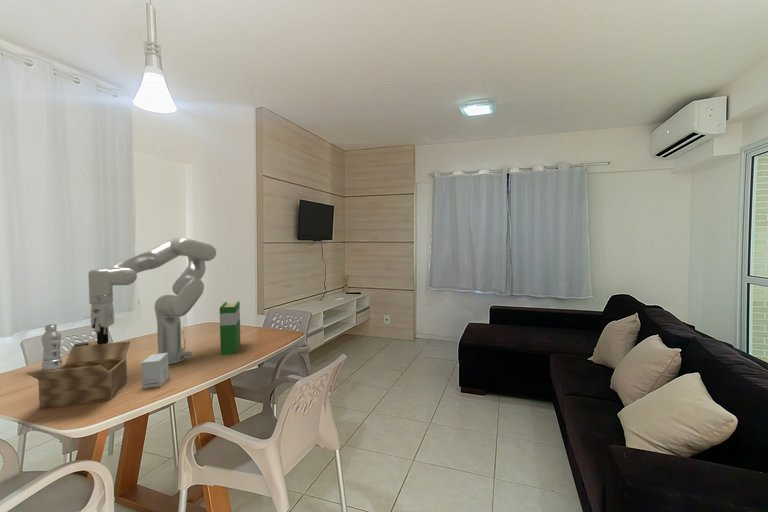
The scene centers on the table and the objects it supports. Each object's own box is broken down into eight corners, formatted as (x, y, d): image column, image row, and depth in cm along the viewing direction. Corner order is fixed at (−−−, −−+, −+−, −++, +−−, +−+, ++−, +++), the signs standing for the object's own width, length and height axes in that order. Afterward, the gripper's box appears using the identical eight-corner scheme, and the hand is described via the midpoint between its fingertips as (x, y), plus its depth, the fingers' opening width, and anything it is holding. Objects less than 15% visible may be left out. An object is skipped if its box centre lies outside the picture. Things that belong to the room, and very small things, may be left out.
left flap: (100, 365, 117) (100, 366, 116) (108, 371, 123) (108, 372, 123) (27, 372, 110) (26, 374, 110) (39, 378, 116) (39, 380, 116)
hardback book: (225, 345, 189) (224, 302, 188) (240, 344, 191) (239, 301, 191) (220, 355, 172) (219, 307, 172) (236, 353, 174) (235, 306, 174)
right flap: (125, 357, 138) (125, 358, 138) (130, 341, 143) (130, 342, 144) (64, 363, 131) (65, 364, 132) (72, 346, 137) (72, 347, 137)
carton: (127, 382, 138) (126, 358, 138) (111, 399, 123) (110, 371, 123) (64, 390, 131) (63, 364, 131) (39, 409, 116) (38, 379, 116)
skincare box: (151, 378, 142) (151, 353, 142) (169, 377, 144) (168, 352, 144) (141, 389, 132) (140, 362, 132) (160, 386, 134) (159, 360, 134)
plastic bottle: (50, 367, 157) (48, 324, 156) (66, 366, 157) (64, 323, 157) (37, 372, 150) (35, 327, 150) (54, 372, 151) (52, 326, 150)
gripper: (104, 301, 135) (106, 347, 135) (119, 296, 149) (120, 338, 149) (81, 302, 132) (82, 350, 133) (98, 297, 146) (99, 340, 147)
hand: (102, 343), depth 141 cm, fingers closed
